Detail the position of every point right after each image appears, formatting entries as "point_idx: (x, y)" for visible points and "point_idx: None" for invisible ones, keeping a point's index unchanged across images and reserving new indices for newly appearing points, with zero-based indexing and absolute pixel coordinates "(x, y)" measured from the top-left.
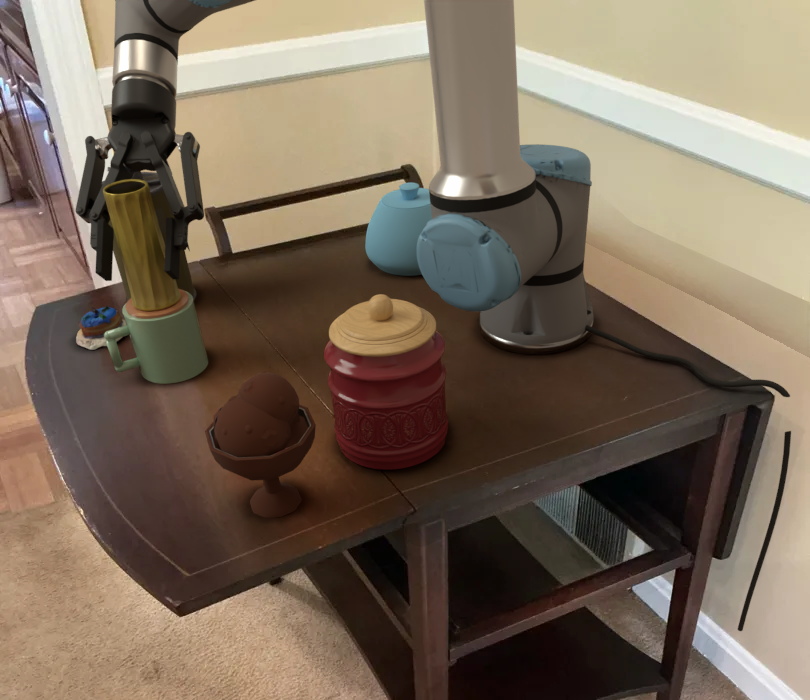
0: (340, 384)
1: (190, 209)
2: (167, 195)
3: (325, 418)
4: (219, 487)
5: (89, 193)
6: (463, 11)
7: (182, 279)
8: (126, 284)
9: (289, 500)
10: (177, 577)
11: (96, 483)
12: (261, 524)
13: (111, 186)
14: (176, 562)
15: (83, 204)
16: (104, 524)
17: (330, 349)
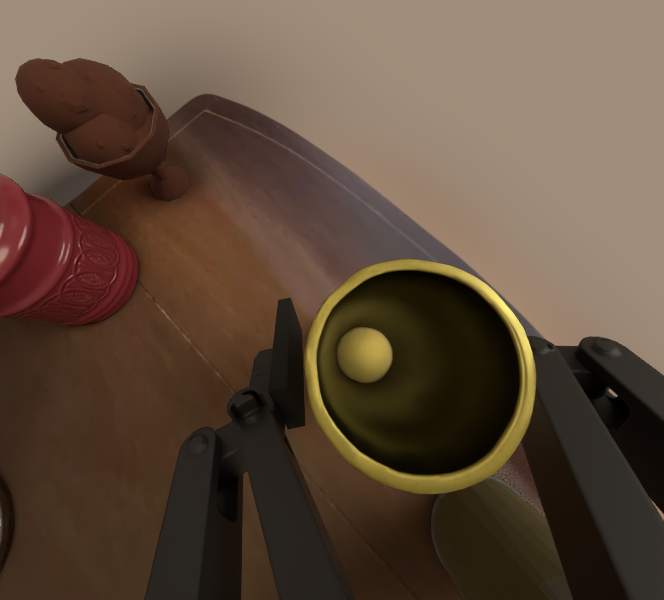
0: (35, 198)
1: (207, 434)
2: (287, 473)
3: (160, 294)
4: (220, 187)
5: (652, 420)
6: None
7: (449, 554)
8: (530, 507)
9: (152, 176)
10: (211, 107)
11: (321, 168)
12: (173, 160)
13: (518, 386)
14: (217, 117)
15: (615, 366)
16: (287, 133)
17: (8, 203)
